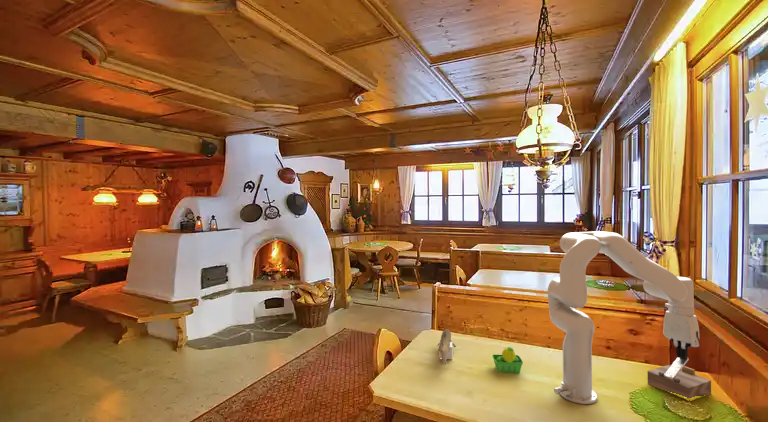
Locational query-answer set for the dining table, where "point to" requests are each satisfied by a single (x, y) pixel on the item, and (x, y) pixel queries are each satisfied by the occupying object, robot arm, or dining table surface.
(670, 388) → the walnut box
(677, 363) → the steel strap
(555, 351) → the dining table surface
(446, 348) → the wood carving
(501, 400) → the dining table surface
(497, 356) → the fruit basket
